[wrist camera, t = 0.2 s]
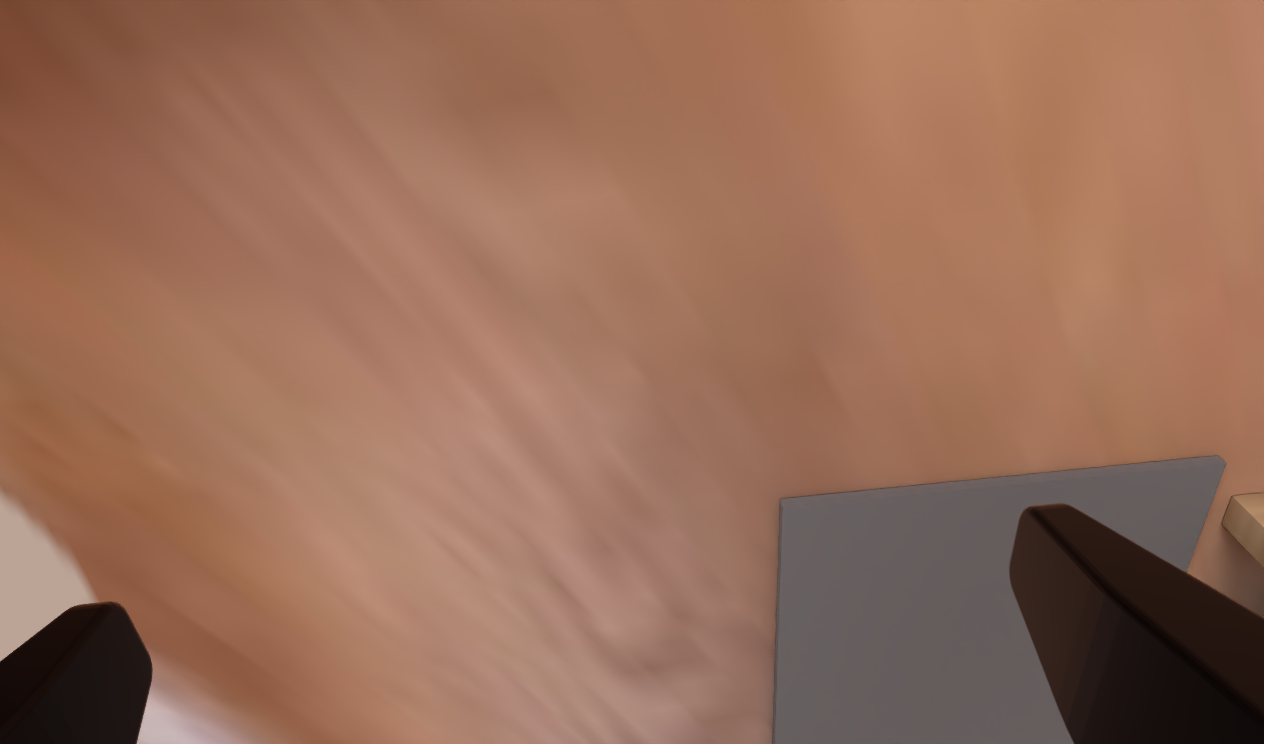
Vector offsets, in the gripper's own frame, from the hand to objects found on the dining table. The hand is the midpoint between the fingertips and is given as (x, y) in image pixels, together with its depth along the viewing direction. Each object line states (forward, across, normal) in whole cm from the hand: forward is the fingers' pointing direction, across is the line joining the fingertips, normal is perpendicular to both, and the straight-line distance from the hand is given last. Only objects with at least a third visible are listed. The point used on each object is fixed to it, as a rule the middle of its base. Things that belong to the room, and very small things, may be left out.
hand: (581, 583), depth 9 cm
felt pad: (+15, -12, +19) cm, 27 cm away
